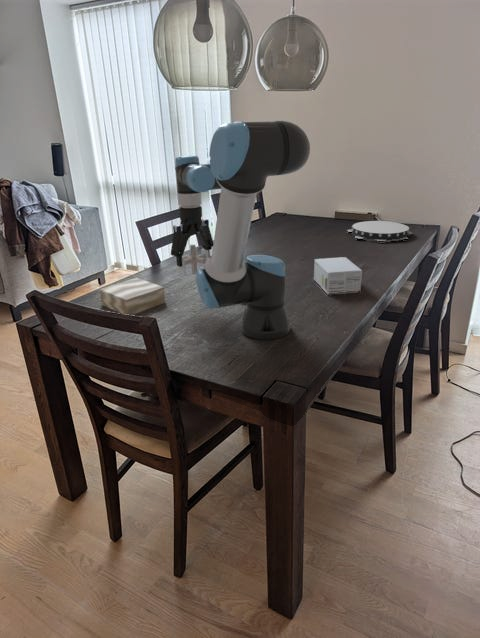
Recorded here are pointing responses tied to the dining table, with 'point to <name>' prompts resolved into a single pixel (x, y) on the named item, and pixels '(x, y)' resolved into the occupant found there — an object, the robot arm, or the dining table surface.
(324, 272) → the supplement box
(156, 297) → the stand
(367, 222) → the tambourine
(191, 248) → the pipe connector
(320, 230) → the dining table surface
